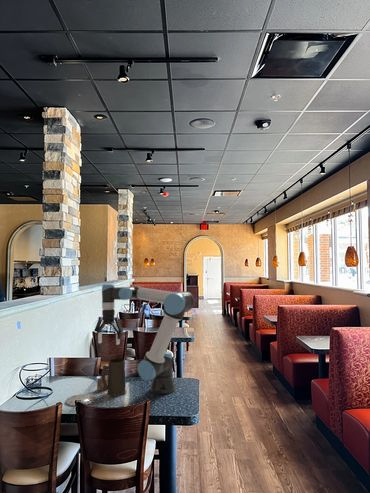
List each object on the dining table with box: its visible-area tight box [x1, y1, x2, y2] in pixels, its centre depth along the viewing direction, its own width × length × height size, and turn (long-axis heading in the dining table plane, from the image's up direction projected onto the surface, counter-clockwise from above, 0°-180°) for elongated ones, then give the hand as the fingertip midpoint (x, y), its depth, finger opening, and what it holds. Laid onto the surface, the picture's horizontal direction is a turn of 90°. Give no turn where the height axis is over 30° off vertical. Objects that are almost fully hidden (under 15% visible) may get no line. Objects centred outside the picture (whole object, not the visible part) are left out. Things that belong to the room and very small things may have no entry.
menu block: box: [96, 374, 108, 392], centre depth 235 cm, size 5×9×7 cm, turn 149°
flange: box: [65, 393, 96, 407], centre depth 214 cm, size 16×16×1 cm
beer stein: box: [100, 357, 126, 397], centre depth 226 cm, size 15×11×20 cm
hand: (108, 343), depth 235 cm, fingers open, 13 cm apart
